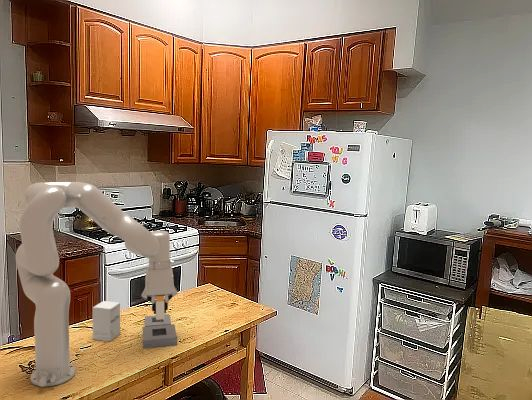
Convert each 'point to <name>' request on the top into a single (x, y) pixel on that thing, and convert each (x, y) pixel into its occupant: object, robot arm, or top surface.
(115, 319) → the supplement box
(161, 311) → the plug
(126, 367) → the top surface
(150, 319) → the grey slotted plate
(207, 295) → the top surface
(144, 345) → the port
